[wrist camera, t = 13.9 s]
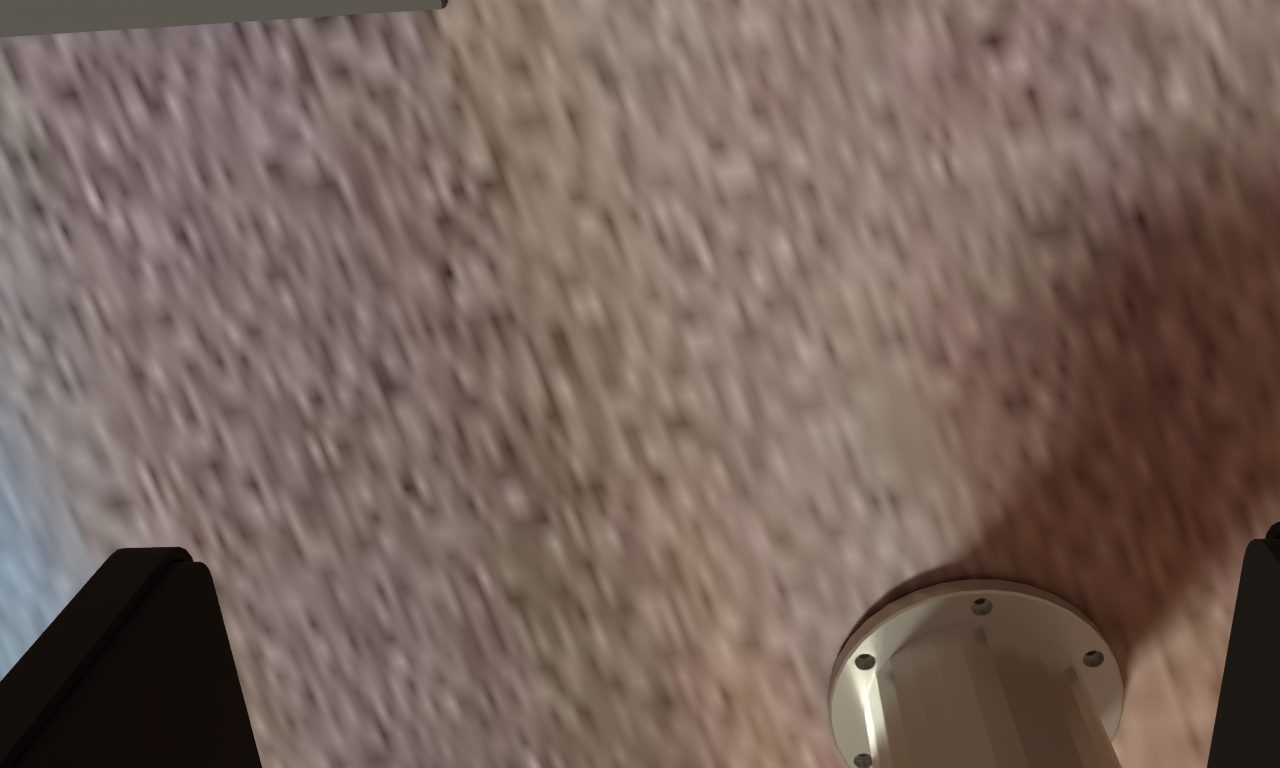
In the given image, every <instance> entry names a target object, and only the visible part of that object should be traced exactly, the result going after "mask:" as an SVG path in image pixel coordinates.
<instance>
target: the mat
mask: <svg viewBox="0 0 1280 768" xmlns="http://www.w3.org/2000/svg"><path fill="white" fill-rule="evenodd" d="M445 7H446V3H445V0H0V37H11V36H27V35H42V34H58V33H74V32H89V31H105V30H120V29H136V28H151V27H167V26H183V25H198V24H214V23H229V22H245V21H261V20H276V19H292V18H307V17H323V16H338V15H354V14H370V13H385V12H401V11H416V10H432V9H443V8H445Z"/></svg>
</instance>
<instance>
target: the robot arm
mask: <svg viewBox="0 0 1280 768" xmlns="http://www.w3.org/2000/svg"><path fill="white" fill-rule="evenodd" d="M1123 695H1124V686H1123V682H1122V678H1121V674H1120V670H1119V666H1118V663H1117V661H1116V659H1115V657H1114V655H1113V653H1112V651H1111V649H1110V647H1109V644H1108V643H1107V641H1106V640H1105V638H1104V637H1103V635H1102V634H1101V633H1100V631H1099V630H1098V628H1097V627H1096V625H1095V624H1094V623H1093V622H1092V621H1091V620H1090V619H1089V618H1087V617H1086V616H1085V615H1084V614H1083V613H1082V612H1081V611H1080V610H1079V609H1078V608H1076V607H1075V606H1073V605H1072V604H1070V603H1068V602H1066V601H1065V600H1063V599H1061V598H1060V597H1058V596H1056V595H1055V594H1052V593H1050V592H1047V591H1044V590H1041V589H1039V588H1036V587H1033V586H1031V585H1027V584H1022V583H1016V582H1011V581H1005V580H997V579H968V580H960V581H953V582H946V583H940V584H937V585H934V586H930V587H927V588H924V589H920V590H917V591H914V592H912V593H910V594H908V595H906V596H904V597H902V598H900V599H898V600H896V601H894V602H891V603H889V604H888V605H887V606H885V607H884V608H882V609H881V610H880V611H878V612H877V613H875V614H874V615H873V616H871V617H870V618H868V619H867V620H866V621H865V622H864V623H863V625H862V626H861V627H860V628H859V629H858V630H857V631H856V632H855V633H854V634H853V635H852V636H851V637H850V638H849V640H848V642H847V643H846V645H845V646H844V648H843V649H842V651H841V653H840V654H839V656H838V657H837V660H836V663H835V666H834V668H833V671H832V674H831V676H830V681H829V690H828V698H827V701H828V711H829V722H830V726H831V730H832V734H833V738H834V742H835V745H836V746H837V748H838V750H839V752H840V754H841V756H842V758H843V760H844V762H845V763H846V764H847V765H848V767H849V768H1122V767H1121V765H1120V763H1119V760H1118V758H1117V756H1116V753H1115V751H1114V749H1113V747H1112V744H1111V742H1112V741H1113V739H1114V737H1115V735H1116V733H1117V731H1118V728H1119V724H1120V720H1121V716H1122V712H1123ZM0 768H262V766H261V762H260V758H259V754H258V750H257V747H256V743H255V739H254V735H253V731H252V728H251V724H250V720H249V716H248V712H247V708H246V705H245V701H244V697H243V693H242V689H241V686H240V682H239V678H238V674H237V670H236V667H235V663H234V659H233V655H232V651H231V648H230V644H229V640H228V636H227V632H226V629H225V625H224V621H223V617H222V613H221V610H220V606H219V602H218V598H217V594H216V590H215V587H214V583H213V579H212V576H211V573H210V571H209V569H208V567H207V566H206V565H205V564H204V563H202V562H193V559H192V557H191V555H190V554H189V553H188V552H187V550H185V549H183V548H181V547H151V548H123V549H118V550H117V551H115V552H114V553H113V554H112V555H110V557H109V558H108V559H107V560H106V561H105V562H104V563H103V565H102V566H101V567H100V568H99V569H98V570H97V571H96V573H95V574H94V575H93V576H92V577H91V578H90V579H89V581H88V582H87V583H86V584H85V585H84V586H83V588H82V589H81V590H80V591H79V592H78V593H77V594H76V596H75V597H74V598H73V599H72V600H71V601H70V602H69V604H68V605H67V606H66V607H65V608H64V609H63V610H62V612H61V613H60V614H59V615H58V616H57V617H56V619H55V620H54V621H53V622H52V623H51V624H50V625H49V627H48V628H47V629H46V630H45V631H44V632H43V633H42V635H41V636H40V637H39V638H38V639H37V640H36V641H35V643H34V644H33V645H32V646H31V647H30V648H29V650H28V651H27V652H26V653H25V654H24V655H23V656H22V658H21V659H20V660H19V661H18V662H17V663H16V664H15V666H14V667H13V668H12V669H11V670H10V671H9V672H8V674H7V675H6V676H5V677H4V678H3V679H2V681H1V682H0ZM1207 768H1280V522H1277V523H1275V524H1274V525H1272V526H1271V528H1270V529H1269V531H1268V532H1267V534H1266V538H1265V539H1254V540H1252V541H1251V542H1250V543H1249V544H1248V546H1247V548H1246V551H1245V555H1244V560H1243V566H1242V571H1241V577H1240V583H1239V588H1238V594H1237V600H1236V605H1235V611H1234V617H1233V622H1232V628H1231V634H1230V640H1229V645H1228V651H1227V657H1226V662H1225V668H1224V674H1223V679H1222V685H1221V691H1220V696H1219V702H1218V708H1217V714H1216V719H1215V725H1214V731H1213V736H1212V742H1211V748H1210V753H1209V759H1208V765H1207Z"/></svg>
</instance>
